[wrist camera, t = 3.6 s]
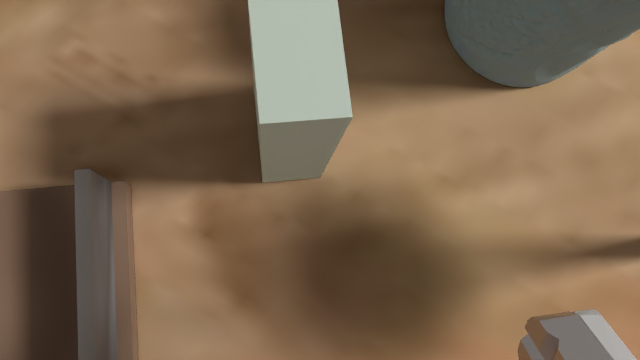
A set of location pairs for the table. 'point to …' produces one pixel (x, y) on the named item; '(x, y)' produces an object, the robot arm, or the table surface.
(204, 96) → the table surface
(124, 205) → the track
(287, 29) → the pale green eraser block
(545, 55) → the blue-grey cylindrical cup
